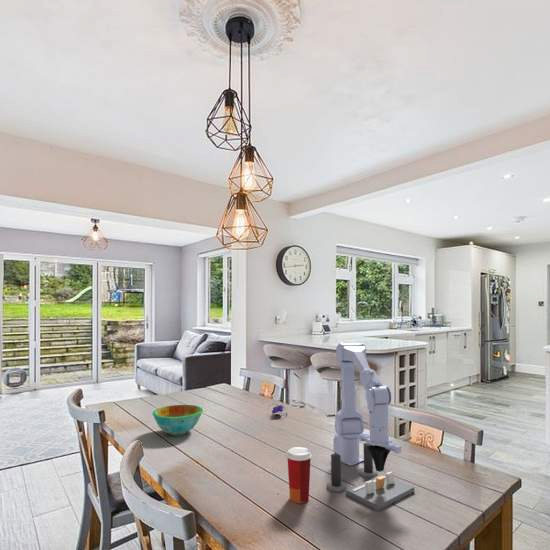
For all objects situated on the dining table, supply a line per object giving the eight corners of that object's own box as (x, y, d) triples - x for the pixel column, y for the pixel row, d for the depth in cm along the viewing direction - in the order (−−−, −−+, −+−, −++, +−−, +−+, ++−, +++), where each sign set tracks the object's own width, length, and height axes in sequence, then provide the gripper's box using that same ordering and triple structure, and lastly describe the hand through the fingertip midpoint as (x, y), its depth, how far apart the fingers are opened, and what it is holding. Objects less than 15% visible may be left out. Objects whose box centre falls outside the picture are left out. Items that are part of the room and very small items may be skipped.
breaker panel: (345, 494, 120) (345, 488, 120) (382, 478, 130) (382, 473, 131) (378, 511, 110) (377, 504, 110) (414, 492, 121) (414, 486, 121)
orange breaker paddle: (375, 487, 120) (376, 477, 120) (380, 484, 122) (381, 475, 122) (378, 489, 119) (379, 479, 119) (383, 486, 121) (384, 477, 121)
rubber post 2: (356, 473, 134) (355, 443, 135) (367, 469, 138) (366, 440, 139) (369, 479, 130) (369, 448, 130) (381, 474, 133) (380, 444, 134)
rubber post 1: (322, 487, 125) (322, 454, 125) (335, 481, 128) (335, 450, 129) (336, 494, 120) (336, 460, 121) (349, 488, 124) (349, 456, 124)
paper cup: (310, 492, 121) (309, 446, 122) (313, 505, 113) (313, 455, 114) (285, 492, 121) (285, 446, 122) (286, 505, 113) (286, 456, 114)
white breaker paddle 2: (386, 483, 123) (385, 473, 124) (391, 481, 125) (390, 471, 125) (389, 484, 122) (388, 474, 123) (394, 482, 124) (393, 471, 124)
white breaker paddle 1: (366, 493, 117) (364, 482, 117) (371, 490, 118) (370, 480, 119) (369, 494, 116) (367, 483, 117) (374, 491, 117) (373, 480, 118)
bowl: (141, 439, 169) (142, 415, 170) (167, 424, 190) (168, 403, 191) (189, 443, 163) (189, 419, 164) (210, 427, 185) (210, 405, 186)
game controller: (265, 406, 208) (283, 401, 210) (269, 422, 206) (287, 417, 208) (267, 405, 199) (286, 400, 201) (271, 421, 197) (290, 416, 199)
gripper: (352, 422, 125) (353, 465, 124) (390, 434, 114) (391, 482, 113) (366, 418, 129) (367, 460, 128) (404, 429, 118) (406, 475, 117)
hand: (379, 470), depth 121 cm, fingers closed
